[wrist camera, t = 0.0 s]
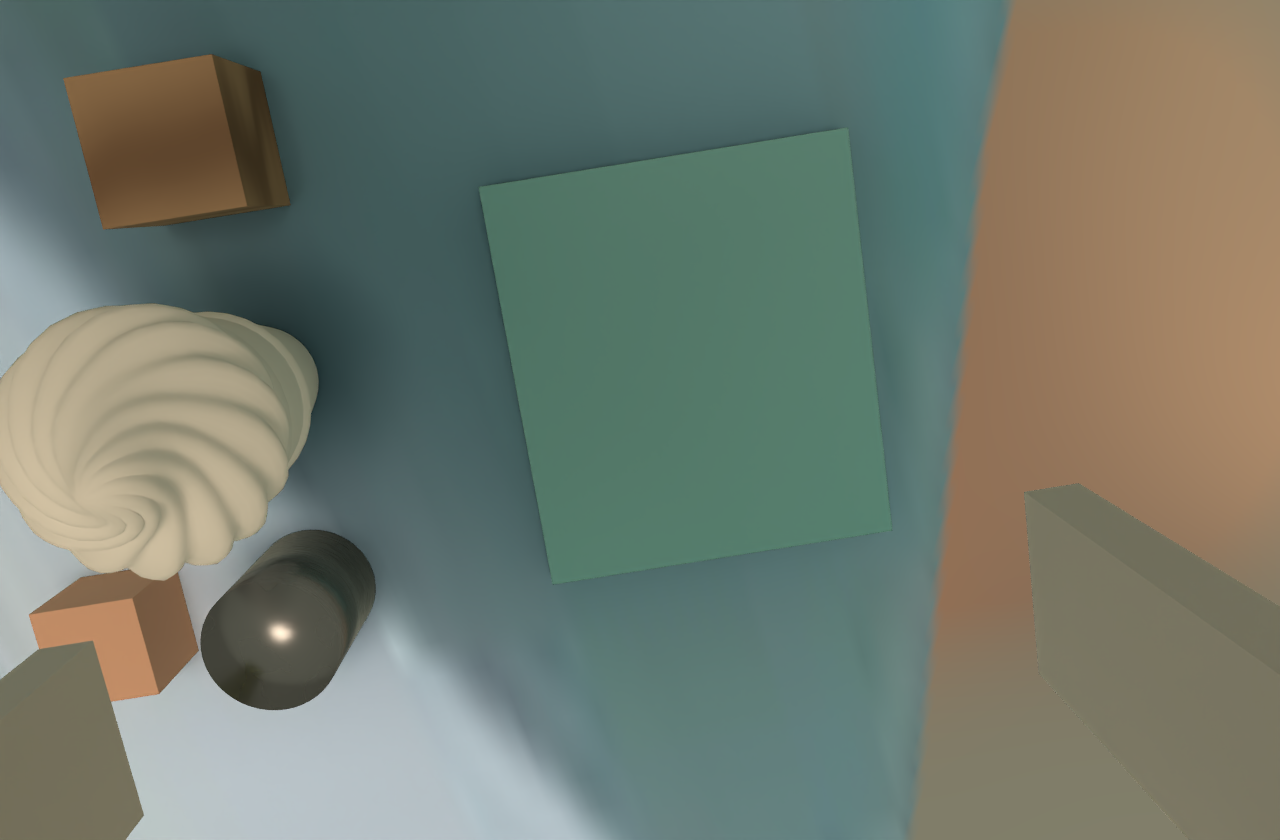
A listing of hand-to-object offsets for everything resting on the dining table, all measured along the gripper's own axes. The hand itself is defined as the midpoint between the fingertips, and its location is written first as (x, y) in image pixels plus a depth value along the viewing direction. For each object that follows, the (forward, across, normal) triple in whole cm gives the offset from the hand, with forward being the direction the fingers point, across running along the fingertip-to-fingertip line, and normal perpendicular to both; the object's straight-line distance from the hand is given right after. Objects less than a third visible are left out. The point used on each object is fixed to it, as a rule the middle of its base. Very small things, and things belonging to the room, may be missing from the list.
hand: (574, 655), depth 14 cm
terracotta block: (+28, -21, -8) cm, 36 cm away
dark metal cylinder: (+28, -13, -8) cm, 32 cm away
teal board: (+28, +4, -1) cm, 28 cm away
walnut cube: (+28, -13, +10) cm, 33 cm away
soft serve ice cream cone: (+28, -13, +1) cm, 31 cm away
